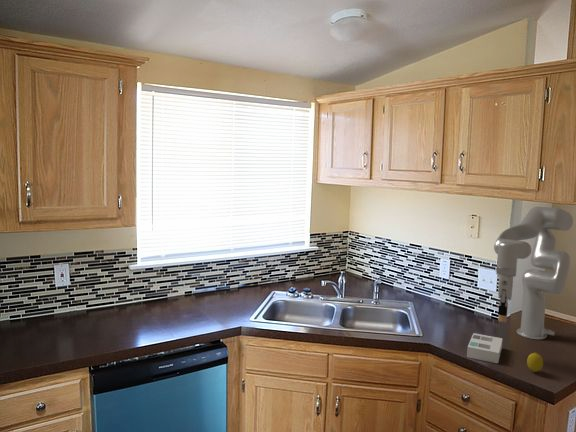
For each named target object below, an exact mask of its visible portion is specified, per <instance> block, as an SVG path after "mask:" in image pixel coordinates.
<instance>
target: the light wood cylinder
mask: <svg viewBox="0 0 576 432" xmlns="http://www.w3.org/2000/svg"><path fill="white" fill-rule="evenodd" d="M501 301H502V300H501ZM505 304H506V303H505ZM499 305H500V303H499ZM499 305H498V306H499ZM508 308H509V303H508V302H507V310H508ZM497 318H498V319H497V321H498V322H501V323H507V320H508V315H507V316H503V315H498V317H497Z"/></svg>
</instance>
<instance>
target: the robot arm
mask: <svg viewBox="0 0 576 432" xmlns="http://www.w3.org/2000/svg"><path fill="white" fill-rule="evenodd" d="M573 225H574V217H573V215H572V214H571V213H570V212H568V211H566V210H564V209H561V208H558V207H550V206H548V207H547V206H534V207H532V208H530V209H529V211H528V212H527V213H526V215H525V216H524V217H523V219H522V221H520V223H519V224H516V225H513V226H511V227H509V228H506V229H505V230H503V231H502V232H501V233H500V234H499V236H498V237H497V238H496V240H495V242H494V245H493V250H494V253H495V254H496V255H497V257H496V258H497V259H496V271H495V274H496V275H498V285H497V287H498V289H497V295H498V296H497V297H498V299H499V304H500V305H498V316H499V315H503V316H507V317H508V309H507V303H508V300H509V301H511V300H512V297H513V287H514V277H516V276H517V268H518V267H517V266H518V260H520V259H521V260H524V259H527V258H529V257H530V255H531V257H530V264H531V265H532V266H533V267H534V268H539V269H531V268H530V269H526V270H525V271H524V272H523V274H522V277H521V280H522V281H521V282H522V287H523V288H522V290H523V293H522V295H523V296H522V306H521V307H522V308H521V319H520V327H519V328H517V329H516V333H517V334H518V335H519V336H521V337H523V338H527V339H531V340H544V339H546V338H547V336H548V335H549V336H555V331H554V330H552V329H547V328H545V315H546V304H547V302H546V301H547V300H546V297H545V295H544V293H547V294H554V295H561V294H562V293H563V292H564V291H565V290H564V289H565V287H566V283H567V278H568V274H569V270H570V266H571V265H570V264H571V256H570V254H569V253H568V252H566V251H562V250H558V249H555V248H556V247H555V246H556V243H557V240H556V237H555V235H554V233H553V232H552V231H551V230H555V231H562V232H563V231H564V232H565V231H570V230H571V228H572V227H573ZM529 239H530V240H531V239H535V241H534V245H533V249H532V246H531V244H530V243H529V242H526V240H529ZM524 240H525V241H524ZM541 269H545V270H541ZM546 270H550V271H546ZM552 271H554V272H552ZM543 292H544V293H543ZM501 300H502V301H501ZM505 303H506V304H505Z"/></svg>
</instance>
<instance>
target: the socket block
mask: <svg viewBox="0 0 576 432" xmlns="http://www.w3.org/2000/svg"><path fill="white" fill-rule="evenodd" d="M502 349H503V338H501V337H497V336H490V335H486V334H485V335H484V334H480V333H475V332H473V333H472V335H471V338H470V340H469V343H468V345H467V349H466V357H467V358H469V359H473V360H479V361H484V362H487V363H493V364H497V363H498V364H499V363H500V357H501V353H502Z"/></svg>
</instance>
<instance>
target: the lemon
mask: <svg viewBox="0 0 576 432" xmlns="http://www.w3.org/2000/svg"><path fill="white" fill-rule="evenodd" d="M526 364H527V367H528V368H529V370H530V371H532V372H533V373H536V372H540V371H541V370H542V369H543V366H544V360H543V357H542V356H541V355H540V354H539V353H537V352H531V353H530V354H529V355H528V357H527V359H526Z"/></svg>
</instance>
